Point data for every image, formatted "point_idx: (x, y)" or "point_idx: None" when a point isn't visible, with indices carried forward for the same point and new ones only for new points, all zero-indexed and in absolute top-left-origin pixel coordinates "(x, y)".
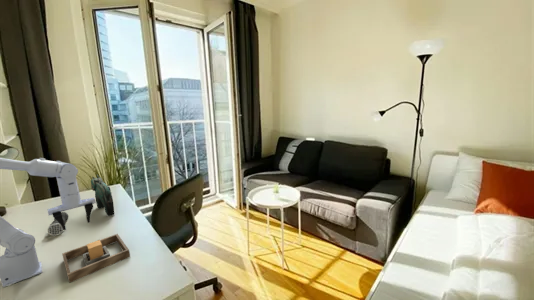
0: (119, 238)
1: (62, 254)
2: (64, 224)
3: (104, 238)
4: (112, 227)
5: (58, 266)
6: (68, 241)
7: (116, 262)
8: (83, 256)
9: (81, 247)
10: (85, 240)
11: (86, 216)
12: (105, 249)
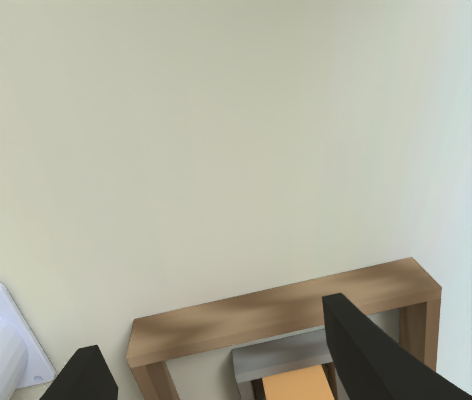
0: (431, 348)
1: (131, 369)
2: (80, 377)
3: (360, 307)
4: (436, 4)
5: (121, 353)
6: (92, 57)
7: None
8: (240, 393)
9: (229, 345)
10: (225, 130)
11: (351, 351)
12: (340, 381)
